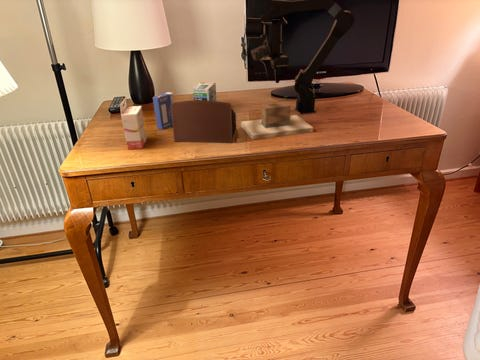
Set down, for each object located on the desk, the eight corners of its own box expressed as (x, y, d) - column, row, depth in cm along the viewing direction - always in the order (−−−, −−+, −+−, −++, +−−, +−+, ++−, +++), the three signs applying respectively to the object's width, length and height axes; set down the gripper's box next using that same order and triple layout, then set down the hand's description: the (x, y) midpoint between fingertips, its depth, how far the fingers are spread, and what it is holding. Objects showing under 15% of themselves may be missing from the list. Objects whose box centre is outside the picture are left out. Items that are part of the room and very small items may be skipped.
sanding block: (284, 120, 125) (285, 102, 121) (289, 125, 121) (290, 105, 118) (261, 123, 123) (261, 104, 119) (265, 128, 119) (265, 108, 116)
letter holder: (232, 143, 112) (231, 101, 106) (174, 142, 115) (168, 100, 108) (236, 132, 121) (235, 92, 114) (182, 131, 123) (177, 92, 116)
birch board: (296, 118, 131) (296, 114, 130) (312, 131, 119) (313, 127, 119) (241, 125, 126) (240, 121, 125) (252, 139, 114) (252, 135, 114)
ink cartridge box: (143, 149, 110) (135, 104, 103) (127, 150, 110) (118, 105, 103) (147, 138, 118) (140, 96, 110) (132, 139, 117) (124, 97, 110)
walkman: (162, 129, 125) (157, 97, 119) (157, 128, 126) (152, 96, 120) (177, 123, 130) (174, 91, 124) (172, 122, 132) (168, 90, 126)
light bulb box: (210, 116, 137) (208, 88, 131) (194, 115, 138) (191, 88, 133) (217, 107, 146) (215, 82, 141) (202, 107, 147) (200, 81, 142)
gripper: (245, 36, 133) (246, 77, 141) (261, 42, 118) (261, 88, 125) (272, 34, 136) (272, 74, 144) (291, 40, 120) (289, 85, 128)
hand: (272, 80), depth 135 cm, fingers open, 9 cm apart
